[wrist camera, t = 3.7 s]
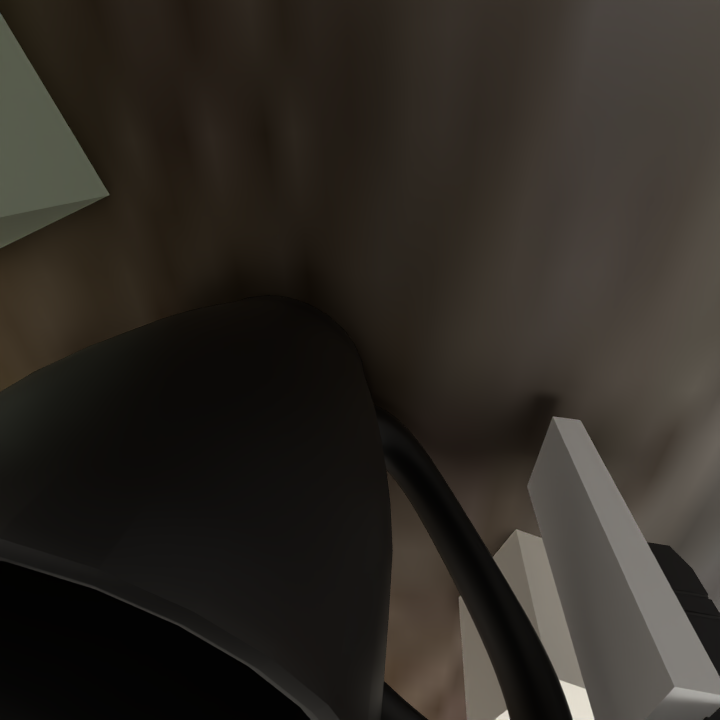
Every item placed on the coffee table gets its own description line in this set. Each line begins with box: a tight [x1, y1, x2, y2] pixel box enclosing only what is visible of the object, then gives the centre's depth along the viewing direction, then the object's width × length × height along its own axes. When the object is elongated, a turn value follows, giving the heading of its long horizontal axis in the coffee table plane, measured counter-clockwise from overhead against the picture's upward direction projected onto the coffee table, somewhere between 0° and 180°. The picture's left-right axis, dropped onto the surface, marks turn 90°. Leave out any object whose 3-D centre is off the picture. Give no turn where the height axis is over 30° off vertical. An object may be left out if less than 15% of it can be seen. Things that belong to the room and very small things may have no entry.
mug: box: [0, 295, 573, 720], centre depth 10 cm, size 8×12×10 cm
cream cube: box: [459, 529, 595, 720], centre depth 15 cm, size 5×5×5 cm
